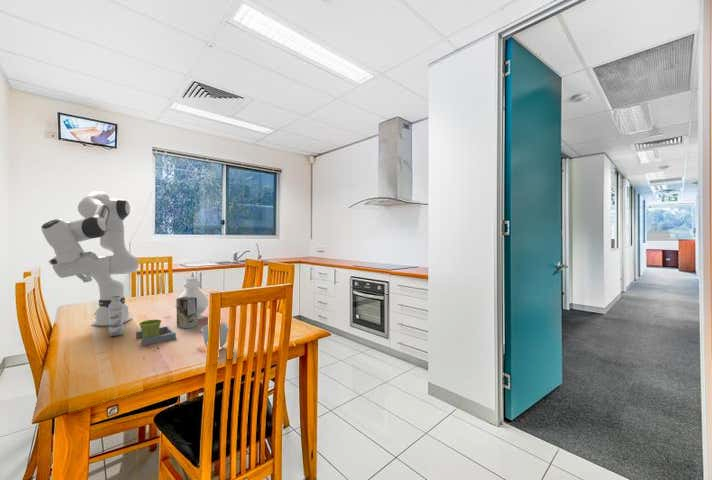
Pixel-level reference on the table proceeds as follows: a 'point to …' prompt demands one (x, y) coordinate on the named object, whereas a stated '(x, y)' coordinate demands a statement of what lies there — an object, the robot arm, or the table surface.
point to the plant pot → (150, 328)
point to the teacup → (222, 334)
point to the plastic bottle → (115, 317)
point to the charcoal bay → (156, 339)
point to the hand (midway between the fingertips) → (88, 281)
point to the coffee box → (186, 312)
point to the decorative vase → (195, 294)
